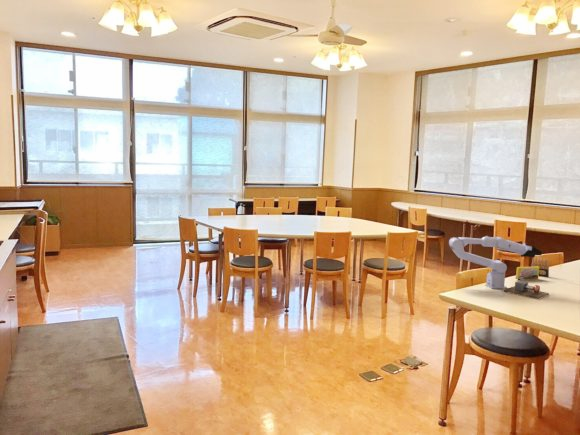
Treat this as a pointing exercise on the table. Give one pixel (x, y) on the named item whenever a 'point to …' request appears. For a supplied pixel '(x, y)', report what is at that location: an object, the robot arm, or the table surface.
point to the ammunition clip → (542, 267)
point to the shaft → (533, 288)
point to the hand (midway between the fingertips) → (537, 254)
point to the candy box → (527, 272)
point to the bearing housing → (520, 286)
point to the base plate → (527, 293)
